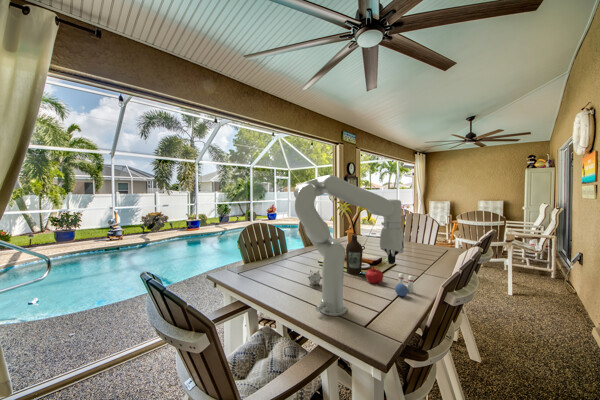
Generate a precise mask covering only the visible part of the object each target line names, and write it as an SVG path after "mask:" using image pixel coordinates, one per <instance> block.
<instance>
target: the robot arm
mask: <svg viewBox="0 0 600 400" xmlns="http://www.w3.org/2000/svg"><path fill="white" fill-rule="evenodd" d="M324 194H328V195H330V196H332V197H334V198H336V199H338V200H341V201H342V202H345V203H347V204H349V205H352V206H355V207H360V208H363V209H366V210H367V212H368V213H370V214H371V215H374V216H379V217H383V221H381V224H380V225H381V226H383V227H381V231H380V238H379V247H380V250H382V251H384V252H385V253H386V255H387V262H388V265H394V264H395V263H396V256H397V255H398V254H404V247H405V239H404V232H403V228H402V201H401V200H400V199H387V198H385V197H383V196H381V195H379V194H377V193H375V192H371V191H369V190H366V189H364V188H362V187H359V186H357V185H355V184H352V183H350V182H349V181H346V180H344V179H342V178H340V177H338V176H336V175H333V174H326V175H325V174H324V175H321V176H319V177H316V178H313V179H309V180H306V181H304V182H301V183H299V184H297V185H296V186H295V187H294V189H293V195H294V198H295V201H294V211H295V214H296V216H297V218H298V220H299V222H300V223H301V224H302V226H303V228H304V234H305V235H306V236H307V238H308V239H309V241H310V242H311V243H312V245H313V246H314V248H315V249H316V250H317V252H318V253H319V254H320V255H321V256H323V262H322V266H321V269H322V271H321V277H322V278H321V284H322V285H321V300H320V303H319V304H318V305H317V306H316V307H315V311H316V312H321V313H322V314H324V315H326V316H332V317H338V316H342V315H344V314H345V313H346V312H347V310H348V309H347V305H346V304H345V303H344V266H345V261H346V248H345V247H344V245H343V244H342V243H341V242H340V241H338V240H336V239H335V238H333V236H332V235H331V229H330V227H329V226H328V224H327V223H326V222H325V221H324V219H323V217H321V215H320V214H319V212H318V210H317V209H316V206H315V202H316V201H315V200H316V198H317V197H319V196H322V195H324Z"/></svg>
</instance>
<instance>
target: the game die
mask: <svg viewBox="0 0 600 400" xmlns="http://www.w3.org/2000/svg"><path fill="white" fill-rule="evenodd" d="M307 279H308V280H309V284H310V286H312V285H318V286H320V282H321V281H322V275H321V274H320V270H317V271H316V270H315V271H313V270H311V269H310V273H309V274H308V276H307Z"/></svg>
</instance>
